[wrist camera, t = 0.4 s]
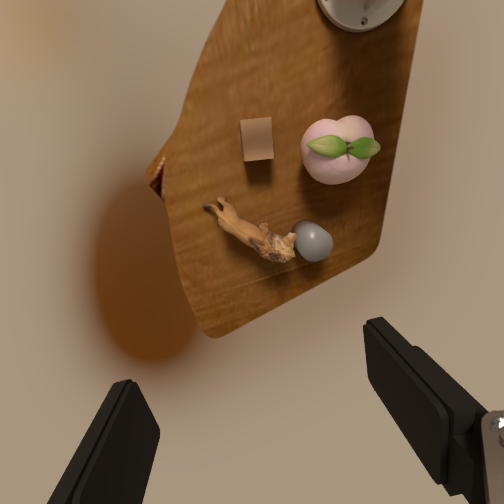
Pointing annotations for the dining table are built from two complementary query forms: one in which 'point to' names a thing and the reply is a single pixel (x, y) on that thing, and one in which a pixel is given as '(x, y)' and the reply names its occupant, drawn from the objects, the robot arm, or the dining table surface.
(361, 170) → the decorative fruit
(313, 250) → the light grey cylinder
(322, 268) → the dining table surface
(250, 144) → the pale beige block
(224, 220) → the lion figurine
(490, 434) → the robot arm
